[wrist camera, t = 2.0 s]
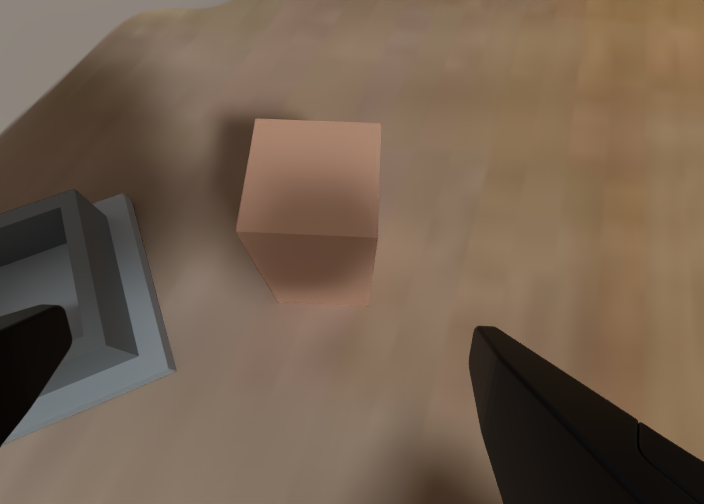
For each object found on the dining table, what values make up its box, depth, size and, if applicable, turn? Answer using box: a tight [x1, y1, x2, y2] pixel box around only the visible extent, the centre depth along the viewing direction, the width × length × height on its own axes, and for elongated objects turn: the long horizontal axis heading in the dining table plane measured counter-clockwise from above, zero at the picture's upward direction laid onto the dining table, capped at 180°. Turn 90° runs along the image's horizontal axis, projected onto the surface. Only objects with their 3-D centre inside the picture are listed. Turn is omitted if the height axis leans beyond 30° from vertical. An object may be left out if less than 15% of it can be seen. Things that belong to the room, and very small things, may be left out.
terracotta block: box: [236, 119, 381, 307], centre depth 20 cm, size 5×5×9 cm
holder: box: [0, 189, 176, 445], centre depth 21 cm, size 11×11×4 cm
